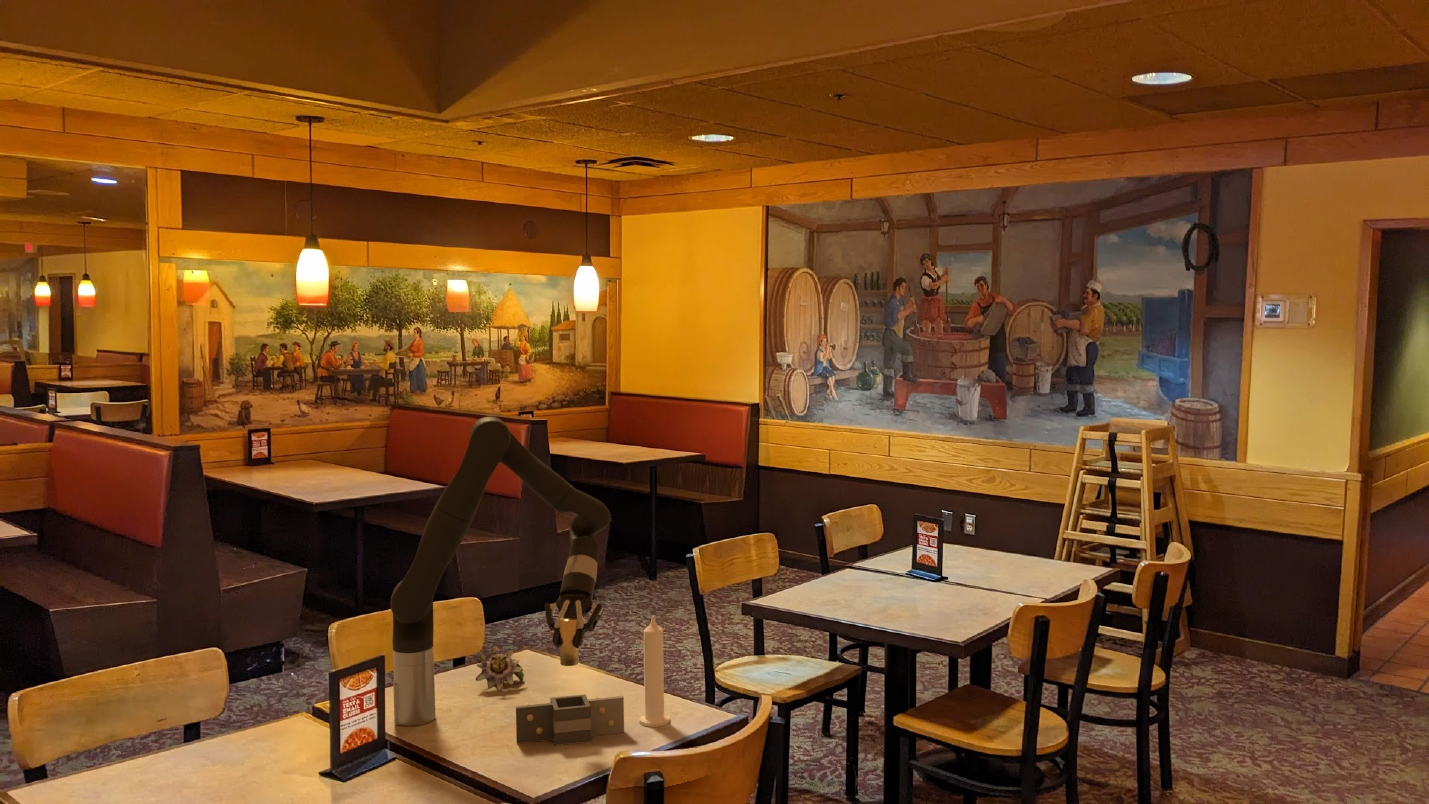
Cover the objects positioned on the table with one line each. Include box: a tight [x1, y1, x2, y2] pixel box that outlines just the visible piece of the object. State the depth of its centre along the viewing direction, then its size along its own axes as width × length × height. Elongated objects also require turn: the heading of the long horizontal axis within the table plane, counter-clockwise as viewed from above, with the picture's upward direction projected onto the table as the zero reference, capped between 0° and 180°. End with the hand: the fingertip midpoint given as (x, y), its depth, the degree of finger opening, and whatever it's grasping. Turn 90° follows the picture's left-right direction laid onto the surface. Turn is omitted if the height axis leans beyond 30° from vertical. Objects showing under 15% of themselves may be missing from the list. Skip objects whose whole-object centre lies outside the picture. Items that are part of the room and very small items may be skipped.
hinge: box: [515, 693, 625, 746], centre depth 240 cm, size 24×8×8 cm, turn 105°
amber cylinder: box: [559, 617, 579, 667], centre depth 238 cm, size 4×4×10 cm
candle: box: [638, 615, 671, 728], centre depth 248 cm, size 7×7×25 cm
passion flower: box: [475, 646, 525, 692], centre depth 275 cm, size 11×11×12 cm
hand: (566, 645), depth 237 cm, fingers closed on amber cylinder, 4 cm apart
